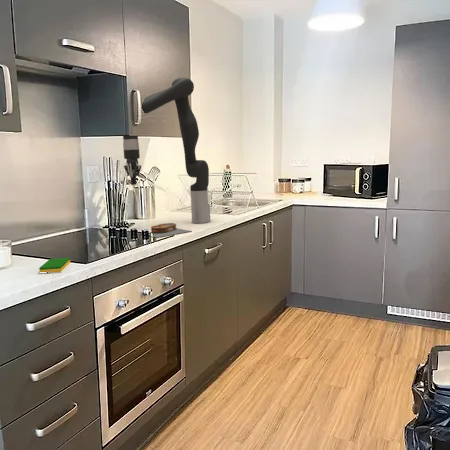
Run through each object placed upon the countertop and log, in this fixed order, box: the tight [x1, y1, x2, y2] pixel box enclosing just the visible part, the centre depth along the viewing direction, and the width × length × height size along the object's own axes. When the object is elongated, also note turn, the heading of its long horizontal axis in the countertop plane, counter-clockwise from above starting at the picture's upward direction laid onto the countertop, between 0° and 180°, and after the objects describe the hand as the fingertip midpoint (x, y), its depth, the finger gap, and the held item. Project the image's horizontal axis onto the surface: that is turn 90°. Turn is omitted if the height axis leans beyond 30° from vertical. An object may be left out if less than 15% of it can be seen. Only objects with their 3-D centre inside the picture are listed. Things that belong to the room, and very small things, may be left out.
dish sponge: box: [38, 257, 71, 273], centre depth 163 cm, size 7×14×2 cm, turn 5°
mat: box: [150, 227, 192, 239], centre depth 224 cm, size 20×14×1 cm
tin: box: [150, 222, 177, 233], centre depth 228 cm, size 15×3×8 cm
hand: (133, 184), depth 230 cm, fingers closed
